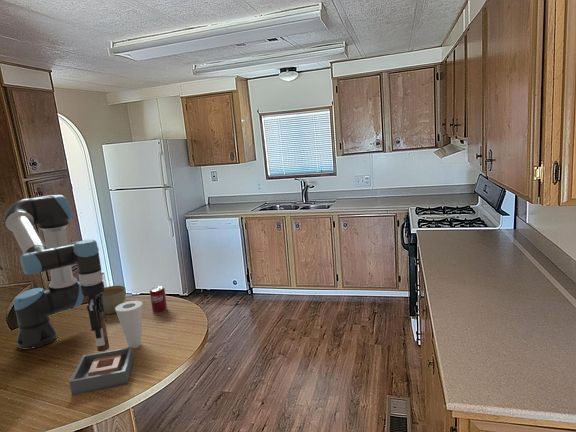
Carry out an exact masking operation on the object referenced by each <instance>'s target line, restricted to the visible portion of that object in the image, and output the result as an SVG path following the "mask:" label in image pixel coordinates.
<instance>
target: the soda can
mask: <svg viewBox="0 0 576 432" xmlns="http://www.w3.org/2000/svg"><path fill="white" fill-rule="evenodd" d="M149 295H150V296H149V297H150V305H151V311H152V313H153V314H156V315H157V314H163V313H165V312H167V310H168V305H167V297H166V290H165V287H164V286H154V287H152V288H150V290H149Z"/></svg>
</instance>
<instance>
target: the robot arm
mask: <svg viewBox="0 0 576 432" xmlns="http://www.w3.org/2000/svg"><path fill="white" fill-rule="evenodd" d="M72 219H73V214H72V209H71V206H70V203H69V201H68V199H67V198H66V196H64V195H63V194H50V195H49V194H48V195H43V196H37V197H36V196H35V197H30V198H29V197H28V198H27V197H26V198H22V199H19V200H17V201H15V202H14V203H12V204H11V205H10V206H9V207H8V209H7V210H6V211H5V214H4V225H5V226H6V228H7V229H8V231H10V232H12V234H13V236H14V238H15V240H16V241H17V244H18V246H19V248H20V250H21V252H22V254H21V255H20V257H19V262H20V266H21V269H22V272H23V274H24V275H27V276H29V275H33V274H41V273H43V272H49V273H50V279H51V281H50V282H49V283H48V288H47V289H44V288H43V287H35V288H30V289H27V290H25V291H22V292H21V293H19V294H18V295H16V296H15V297H14V299H13V306H14V308H13V309H14V311H15V316H16V320H17V326H18V332H17V333H18V334H17V339H16V346H17V345H18V346H17V348H18V347H21V348H32V347H38V346H41V345H44V346H46V345H45V344H47V343H49V342H51V341H52V342H53V340H54V339H55V338H56V337H58V335H57V334H58V333H57V331H56V329H55V327H54V326H53V324H52V323H51V320H50V317H49V316H51V315H55V314H58V313H63V312H65V311H69V310H73V309H75V308H77V307H80V306H81V305H82V303H83V301H84V297H88V300H87V306H86V310H87V312H88V316H89V317H88V318H89V321H90V322H89V323H90V327H91V329H90V331H91V332H93V333H94V338H95V343H96V347H97V346H102V345H105V341H104V335H103V329H102V328H101V321H100V311H103V312H104V318H105V323H106V322H107V321H108V318H107V316H106V314H105V310H104V304H103V294H102V292H104V290H105V283H104V281H103V280H104V277H103V275H104V272H102V264H101V259H100V258H101V257H100V252H99V250H100V249H99V246H98V243H97V242H98V241H96V240H95V239H83V240H80V241H73V242H70V243H69V242H68V236H67V229H66V228H67V227H68V226H69V221H70V220H72ZM36 226H38V229H37V227H36ZM38 230H41V231H42V232H43V237H44V240H43V238H42V235H41V234H40V233H39V231H38ZM68 243H69V244H68ZM74 265H76V268H77V273H78V279H79V281H78V279H77V277H75V276H73V270H72V266H74ZM106 318H107V319H106ZM56 339H57V338H56ZM56 339H55V340H56ZM55 340H54V341H55ZM52 342H51V343H52ZM49 344H50V343H49ZM47 345H48V344H47ZM41 347H42V346H41ZM38 348H39V347H38Z"/></svg>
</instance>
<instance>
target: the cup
mask: <svg viewBox="0 0 576 432" xmlns="http://www.w3.org/2000/svg"><path fill="white" fill-rule="evenodd" d="M115 310H116V312H115V313H116V315H117V318H118V322H119V323H120V326H121V328H122V329H121V330H122V332H123V335H124V337H125V341H126V343H127V345H128V347H132V348H133V349H136V348H139V347H140V346H141V345H142V325H143V324H142V323H143V322H142V321H143V302H142V301H140V300H130V301H124V303H122V304H120V305H118V306H116V308H115Z"/></svg>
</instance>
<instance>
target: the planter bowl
mask: <svg viewBox="0 0 576 432" xmlns="http://www.w3.org/2000/svg"><path fill="white" fill-rule="evenodd" d="M104 288H105V290H104V292H102V294H103V304H104V310H105V315H110V314H111V315H112V314H115V313H116V310H115V308H116V306H118V305H120V304H122V303H125V302H126V301H125V300H126V294H127V293H126V287H125V286H124V285H110V286H106V287H105V286H104Z"/></svg>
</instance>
